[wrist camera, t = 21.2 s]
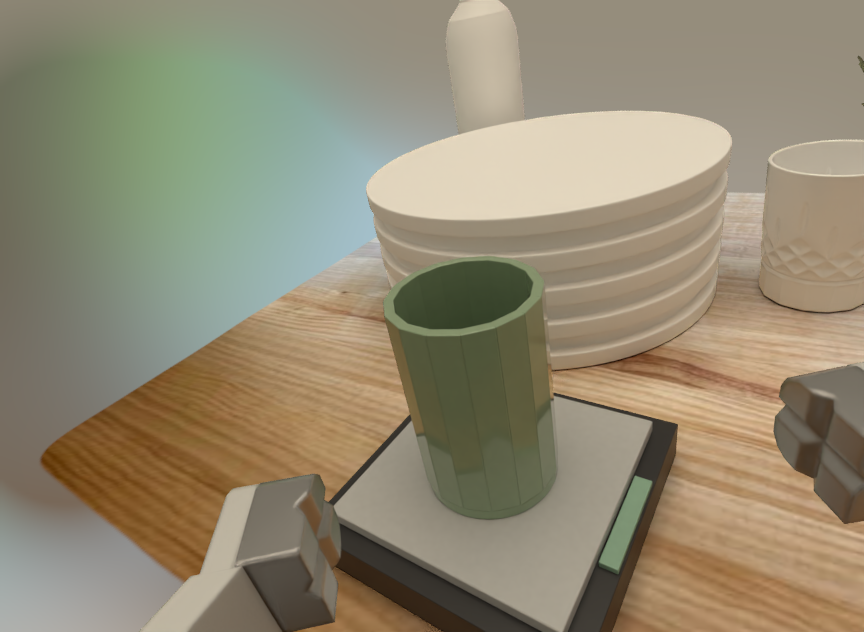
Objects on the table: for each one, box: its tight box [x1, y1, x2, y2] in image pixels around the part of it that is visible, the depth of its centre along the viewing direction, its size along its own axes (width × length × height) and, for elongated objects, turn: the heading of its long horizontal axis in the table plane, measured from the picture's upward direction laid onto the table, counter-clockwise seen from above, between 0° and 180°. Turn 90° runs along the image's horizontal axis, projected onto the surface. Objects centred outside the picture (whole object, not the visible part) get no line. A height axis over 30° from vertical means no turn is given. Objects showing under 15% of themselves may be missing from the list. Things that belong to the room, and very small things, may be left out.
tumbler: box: [383, 256, 558, 520], centre depth 23 cm, size 6×6×10 cm
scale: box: [329, 393, 678, 632], centre depth 27 cm, size 14×14×3 cm
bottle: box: [445, 0, 525, 134], centre depth 58 cm, size 8×8×30 cm
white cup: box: [759, 140, 864, 312], centre depth 36 cm, size 8×8×10 cm
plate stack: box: [366, 111, 732, 370], centre depth 45 cm, size 28×28×12 cm
